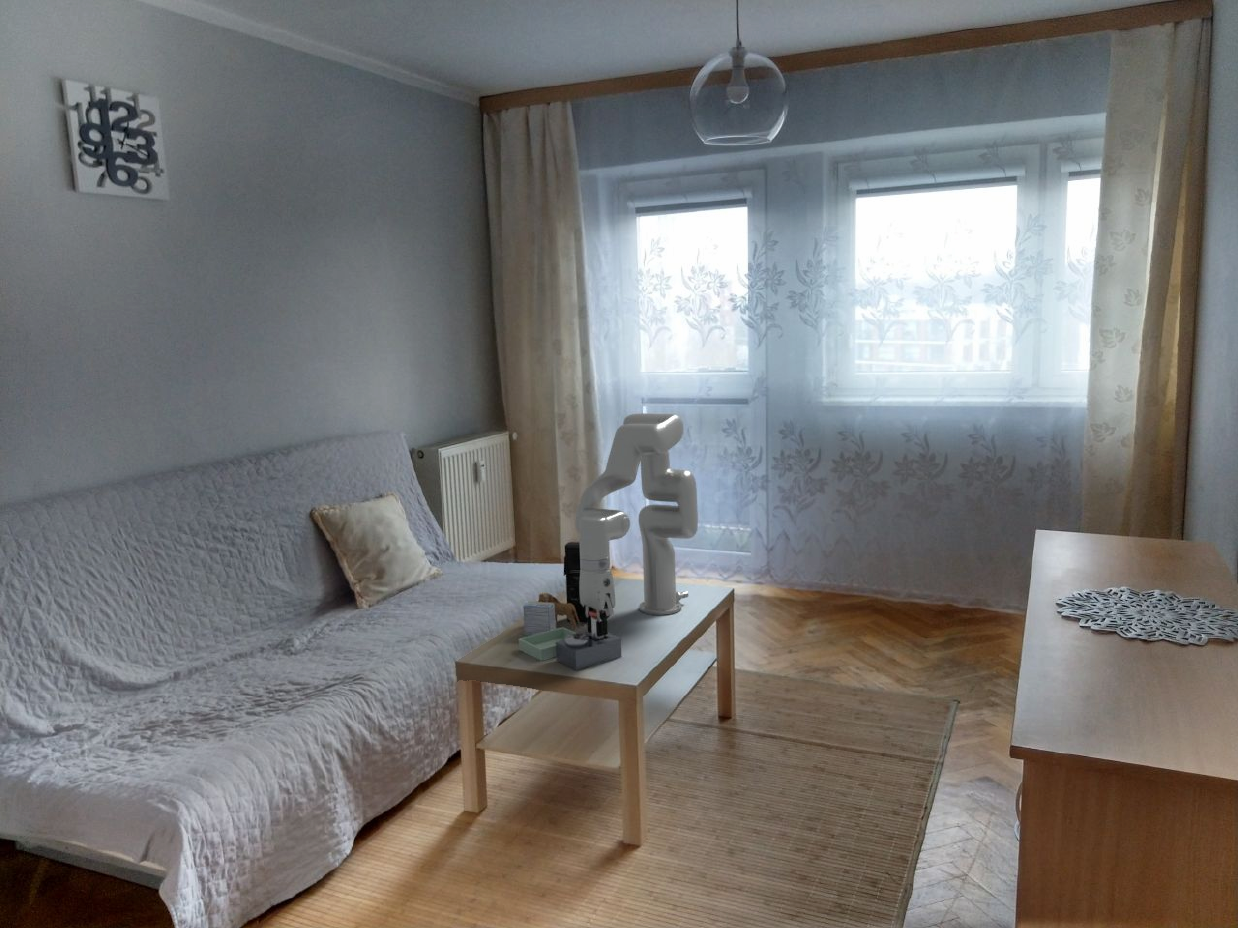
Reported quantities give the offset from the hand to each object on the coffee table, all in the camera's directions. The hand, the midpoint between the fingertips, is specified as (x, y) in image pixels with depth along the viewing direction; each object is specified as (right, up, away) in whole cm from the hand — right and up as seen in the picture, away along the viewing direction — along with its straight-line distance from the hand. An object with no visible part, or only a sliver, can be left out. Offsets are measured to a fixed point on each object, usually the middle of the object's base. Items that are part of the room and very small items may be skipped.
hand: (597, 632), depth 234 cm
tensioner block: (-2, -6, -1) cm, 7 cm away
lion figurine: (-11, -3, +27) cm, 29 cm away
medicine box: (-16, -4, +20) cm, 26 cm away
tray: (-12, -6, +7) cm, 15 cm away
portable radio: (-6, -2, +31) cm, 32 cm away
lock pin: (0, -6, +1) cm, 6 cm away
